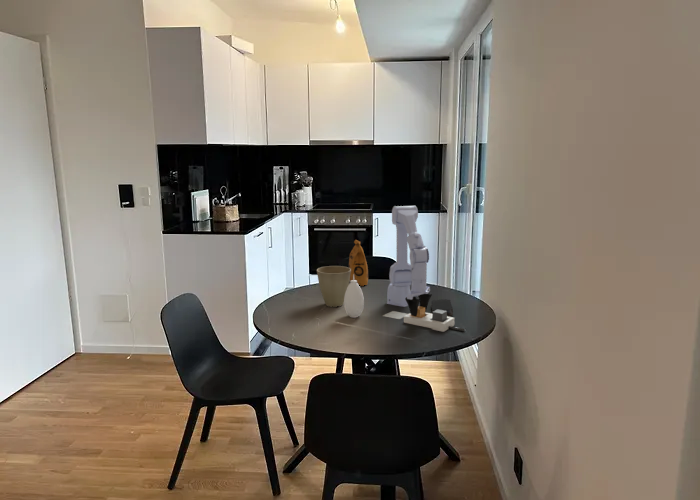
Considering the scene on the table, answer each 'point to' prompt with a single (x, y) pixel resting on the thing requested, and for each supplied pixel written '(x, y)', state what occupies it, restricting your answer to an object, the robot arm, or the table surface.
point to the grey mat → (395, 315)
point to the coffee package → (358, 265)
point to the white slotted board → (431, 322)
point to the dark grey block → (439, 315)
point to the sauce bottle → (354, 299)
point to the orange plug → (420, 312)
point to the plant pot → (333, 284)
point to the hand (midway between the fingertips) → (418, 313)
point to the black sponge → (442, 306)
